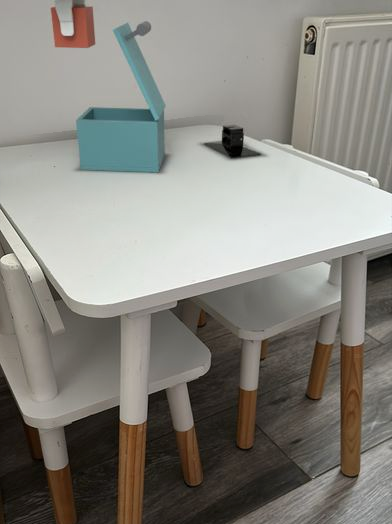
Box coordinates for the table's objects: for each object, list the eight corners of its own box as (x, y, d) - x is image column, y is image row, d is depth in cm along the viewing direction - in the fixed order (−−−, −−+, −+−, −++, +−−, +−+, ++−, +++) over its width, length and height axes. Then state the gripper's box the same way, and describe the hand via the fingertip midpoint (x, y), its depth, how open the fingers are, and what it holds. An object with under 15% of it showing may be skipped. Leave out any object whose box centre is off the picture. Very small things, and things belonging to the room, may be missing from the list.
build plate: (204, 144, 121) (204, 122, 119) (233, 141, 124) (234, 119, 122) (231, 158, 112) (233, 134, 110) (262, 155, 115) (264, 131, 112)
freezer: (80, 169, 104) (75, 120, 99) (93, 153, 114) (89, 107, 109) (158, 172, 104) (157, 122, 99) (164, 155, 113) (164, 109, 108)
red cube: (54, 47, 82) (50, 7, 79) (63, 43, 86) (59, 5, 84) (88, 48, 82) (85, 8, 79) (95, 44, 86) (92, 6, 83)
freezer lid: (112, 29, 91) (138, 15, 90) (124, 24, 101) (147, 11, 99) (155, 120, 99) (179, 109, 97) (162, 107, 108) (184, 96, 107)
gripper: (60, -78, 84) (70, 27, 92) (15, -91, 67) (32, 39, 75) (101, -78, 84) (108, 28, 92) (67, -90, 67) (79, 40, 75)
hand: (74, 33), depth 83 cm, fingers closed on red cube, 5 cm apart
